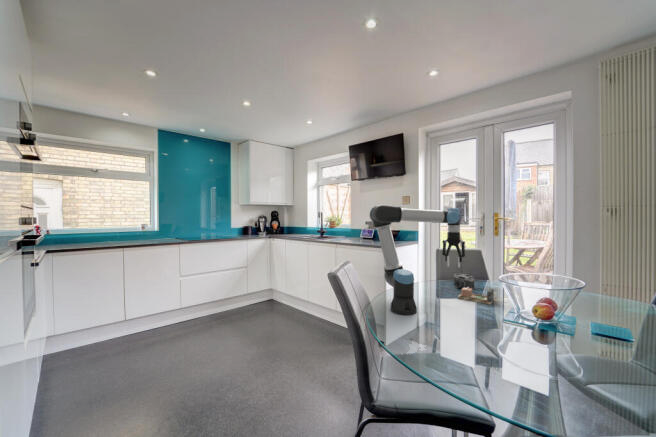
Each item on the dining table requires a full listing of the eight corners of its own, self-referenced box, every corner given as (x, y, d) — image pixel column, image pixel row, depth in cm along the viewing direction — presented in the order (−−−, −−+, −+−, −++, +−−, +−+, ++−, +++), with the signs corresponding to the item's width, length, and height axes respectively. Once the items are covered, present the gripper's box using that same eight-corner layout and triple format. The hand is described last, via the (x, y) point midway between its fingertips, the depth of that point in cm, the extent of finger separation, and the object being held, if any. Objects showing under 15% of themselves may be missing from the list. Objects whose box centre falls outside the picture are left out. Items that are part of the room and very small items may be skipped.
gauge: (461, 295, 168) (461, 288, 168) (464, 293, 173) (464, 286, 173) (469, 297, 164) (469, 289, 164) (472, 294, 170) (472, 287, 170)
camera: (447, 286, 197) (447, 272, 197) (457, 284, 201) (457, 271, 201) (466, 291, 183) (466, 277, 183) (475, 289, 187) (476, 275, 187)
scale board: (457, 298, 167) (457, 287, 167) (462, 294, 176) (462, 283, 176) (490, 304, 156) (490, 292, 155) (493, 300, 164) (493, 288, 164)
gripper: (436, 231, 177) (436, 265, 177) (468, 232, 165) (468, 269, 165) (440, 230, 183) (440, 264, 183) (471, 231, 170) (471, 267, 170)
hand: (453, 266), depth 174 cm, fingers open, 6 cm apart
